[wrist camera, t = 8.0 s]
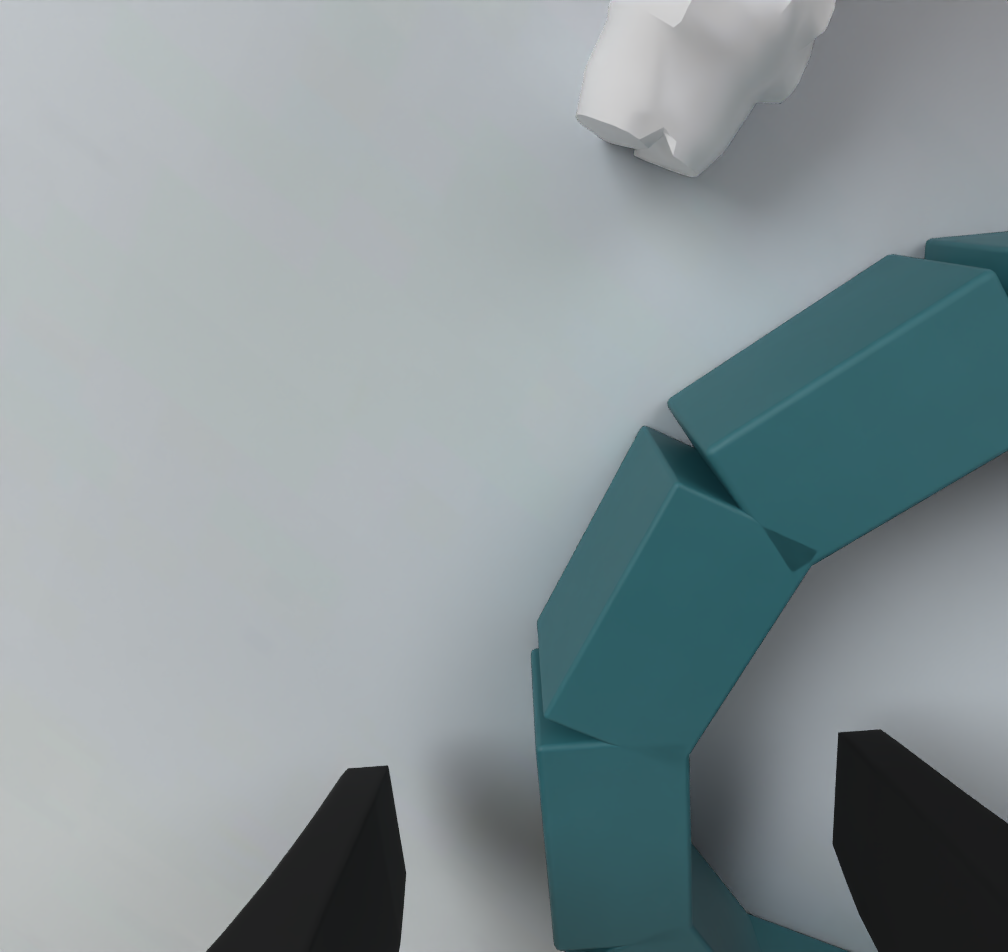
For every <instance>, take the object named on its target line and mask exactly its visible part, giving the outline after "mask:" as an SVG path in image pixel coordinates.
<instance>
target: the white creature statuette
mask: <svg viewBox="0 0 1008 952" xmlns="http://www.w3.org/2000/svg"><path fill="white" fill-rule="evenodd" d="M835 2H836V0H611V1H610V4H609V6H608V15H607V21H606V23H605V25H604V27H603V30H602V32H601V34H600V36H599V38H598V41H597V43H596V45H595V47H594V49H593V52H592V54H591V56H590V58H589V61H588V63H587V65H586V67H585V70H584V77H583V83H582V88H581V93H580V98H579V103H578V108H577V113H576V118H577V120H578V122H579V123H581V124H582V125H583V126H584V127H586V128H587V129H589V130H590V131H592V132H593V133H594V134H596V135H597V136H598V137H599V138H601V139H602V140H605V141H607V142H609V143H611V144H615V145H620V146H624V147H629V148H634V156H636V157H638V158H640V159H642V160H645V161H647V162H650V163H652V164H655V165H657V166H660V167H662V168H665V169H668V170H670V171H673V172H676V173H679V174H682V175H685V176H689V177H696V176H698V175H700V174H701V173H702V172H703V171H704V170H705V169H706V168H707V167H708V166H710V165H711V164H712V163H713V162H714V161H715V160H716V159H717V158H718V157H720V156H721V155H722V154H723V153H724V152H725V150H726V149H727V147H728V146H729V144H730V143H731V141H732V140H733V138H734V137H735V135H736V133H737V132H738V130H739V129H740V127H741V126H742V124H743V123H744V121H745V120H746V118H747V117H748V115H749V114H750V112H751V111H752V109H753V108H754V106H755V105H756V103H775V104H781V103H782V102H783V101H784V100H785V99H787V98H788V97H789V96H790V95H791V94H792V93H793V91H794V90H795V88H796V87H797V85H798V83H799V82H800V79H801V77H802V75H803V73H804V70H805V68H806V66H807V64H808V61H809V59H810V57H811V52H812V48H813V43H814V39H816V38H817V37H818V36H819V35H821V34H822V33H823V32H824V31H825V30H826V28H827V26H828V24H829V21H830V19H831V17H832V14H833V12H834V10H835Z"/></svg>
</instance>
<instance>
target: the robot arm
mask: <svg viewBox="0 0 1008 952" xmlns="http://www.w3.org/2000/svg"><path fill="white" fill-rule="evenodd" d="M833 847H834V849H835V852H836V855H837V857H838V860H839V863H840V866H841V868H842V871H843V874H844V877H845V879H846V882H847V885H848V887H849V890H850V892H851V895H852V897H853V900H854V902H855V905H856V907H857V910H858V912H859V915H860V917H861V919H862V921H863V923H864V925H865V927H866V929H867V931H868V933H869V935H870V937H871V938H872V940H873V942H874V944H875V946H876V948H877V950H878V952H1008V823H1006V822H1005V821H1004V820H1002V819H1001V818H999V817H998V816H997V815H995V814H994V813H992V812H991V811H990V810H988V809H987V808H986V807H984V806H983V805H981V804H980V803H979V802H977V801H976V800H975V799H973V798H972V797H970V796H969V795H968V794H966V793H965V792H964V791H962V790H961V789H960V788H958V787H957V786H956V785H954V784H953V783H952V782H950V781H949V780H948V779H946V778H945V777H944V776H942V775H941V774H940V773H938V772H937V771H936V770H934V769H933V768H932V767H930V766H929V765H928V764H926V763H925V762H924V761H922V760H921V759H920V758H919V757H917V756H916V755H915V754H913V753H912V752H911V751H909V750H908V749H907V748H905V747H904V746H903V745H901V744H900V743H899V742H897V741H896V740H895V739H893V738H892V737H890V736H889V735H888V734H886V733H885V732H883V731H882V730H881V729H880V730H867V731H853V732H839V733H838V748H837V768H836V787H835V806H834V826H833ZM405 882H406V870H405V864H404V858H403V852H402V846H401V840H400V834H399V828H398V822H397V816H396V810H395V804H394V798H393V792H392V786H391V780H390V774H389V768H388V766H375V767H362V768H348V769H347V770H346V771H345V772H344V773H343V775H342V776H341V777H340V779H339V780H338V782H337V783H336V784H335V786H334V787H333V789H332V790H331V792H330V793H329V795H328V796H327V798H326V799H325V801H324V802H323V804H322V805H321V806H320V808H319V809H318V811H317V812H316V814H315V815H314V817H313V818H312V819H311V821H310V822H309V824H308V825H307V826H306V828H305V829H304V831H303V832H302V833H301V835H300V836H299V838H298V839H297V840H296V842H295V843H294V844H293V846H292V847H291V848H290V850H289V851H288V852H287V854H286V855H285V856H284V858H283V859H282V860H281V862H280V863H279V864H278V866H277V867H276V868H275V870H274V871H273V872H272V874H271V875H270V876H269V878H268V879H267V880H266V881H265V883H264V884H263V885H262V886H261V888H260V889H259V890H258V891H257V892H256V894H255V895H254V896H253V897H252V898H251V900H250V901H249V902H248V903H247V905H246V906H245V907H244V908H243V909H242V911H241V912H240V913H239V914H238V915H237V917H236V918H235V919H234V920H233V921H232V923H231V924H230V925H229V926H228V927H227V929H226V930H225V931H224V932H223V933H222V934H221V936H220V937H219V938H218V939H217V940H216V941H215V942H214V943H213V944H212V946H211V947H210V948H209V949H208V950H207V951H206V952H399V948H400V942H401V931H402V920H403V908H404V895H405Z"/></svg>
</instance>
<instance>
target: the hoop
mask: <svg viewBox="0 0 1008 952" xmlns="http://www.w3.org/2000/svg"><path fill="white" fill-rule="evenodd" d="M667 403H668V408H669V409H670V411H671V412H672V414H673V415H674V417H675V418H676V420H677V421H678V423H679V424H680V426H681V427H682V429H683V430H684V432H685V434H686V435H687V437H688V438H689V440H690V441H691V443H692V444H693V446H694V447H695V448H693V447H691V446H689V445H687V444H684V443H682V442H680V441H678V440H676V439H673V438H671V437H669V436H667V435H665V434H663V433H660V432H658V431H656V430H654V429H652V428H649V427H647V426H643V427H642V428H641V429H640V431H639V432H638V434H637V436H636V438H635V440H634V442H633V444H632V445H631V447H630V449H629V451H628V453H627V455H626V457H625V458H624V460H623V462H622V464H621V466H620V468H619V470H618V472H617V473H616V475H615V477H614V479H613V481H612V483H611V485H610V486H609V488H608V490H607V492H606V494H605V496H604V498H603V499H602V501H601V503H600V505H599V507H598V509H597V511H596V513H595V514H594V516H593V518H592V520H591V522H590V524H589V526H588V527H587V529H586V531H585V533H584V535H583V537H582V539H581V540H580V542H579V544H578V546H577V548H576V550H575V552H574V554H573V555H572V557H571V559H570V561H569V563H568V565H567V567H566V568H565V570H564V572H563V574H562V576H561V578H560V580H559V581H558V583H557V585H556V587H555V589H554V591H553V593H552V594H551V596H550V598H549V600H548V602H547V604H546V606H545V608H544V609H543V611H542V613H541V615H540V617H539V619H538V621H537V629H538V643H539V648H536V649H534V650H532V653H531V668H532V687H533V707H534V726H535V745H536V758H537V768H538V779H539V790H540V800H541V811H542V822H543V832H544V843H545V854H546V864H547V875H548V885H549V896H550V907H551V917H552V928H553V939H554V945H555V947H556V949H557V950H560V951H565V952H849V951H846V950H843V949H841V948H838V947H835V946H833V945H830V944H827V943H825V942H822V941H819V940H817V939H814V938H811V937H809V936H806V935H803V934H801V933H798V932H795V931H793V930H790V929H787V928H785V927H782V926H779V925H777V924H774V923H771V922H769V921H766V920H763V919H761V918H758V917H755V916H753V915H750V914H747V913H746V911H745V910H744V909H743V908H742V906H741V905H740V904H739V903H738V901H737V900H736V899H735V897H734V896H733V895H732V894H731V892H730V891H729V890H728V889H727V887H726V886H725V885H724V884H723V882H722V881H721V880H720V878H719V877H718V876H717V875H716V873H715V872H714V871H713V870H712V868H711V867H710V866H709V865H708V863H707V862H706V861H705V859H704V858H703V857H702V856H701V854H700V853H699V852H698V851H697V849H696V848H695V847H694V846H693V844H692V843H691V810H690V759H689V754H690V753H691V751H692V750H693V748H694V747H695V745H696V744H697V742H698V741H699V739H700V737H701V736H702V734H703V733H704V731H705V730H706V728H707V727H708V725H709V724H710V722H711V720H712V719H713V717H714V716H715V714H716V713H717V711H718V710H719V708H720V706H721V705H722V703H723V702H724V700H725V699H726V697H727V696H728V694H729V693H730V691H731V689H732V688H733V686H734V685H735V683H736V682H737V680H738V679H739V677H740V676H741V674H742V672H743V671H744V669H745V668H746V666H747V665H748V663H749V662H750V660H751V659H752V657H753V655H754V654H755V652H756V651H757V649H758V648H759V646H760V645H761V643H762V641H763V640H764V638H765V637H766V635H767V634H768V632H769V631H770V629H771V628H772V626H773V624H774V623H775V621H776V620H777V618H778V617H779V615H780V614H781V612H782V611H783V609H784V607H785V606H786V604H787V603H788V601H789V600H790V598H791V597H792V595H793V594H794V592H795V590H796V589H797V587H798V586H799V584H800V583H801V581H802V580H803V578H804V576H805V575H806V573H807V572H808V570H809V569H810V567H811V566H812V565H814V564H816V563H817V562H819V561H821V560H822V559H824V558H826V557H828V556H829V555H831V554H833V553H834V552H836V551H838V550H839V549H841V548H843V547H845V546H846V545H848V544H850V543H851V542H853V541H855V540H856V539H858V538H860V537H862V536H863V535H865V534H867V533H868V532H870V531H872V530H873V529H875V528H877V527H879V526H880V525H882V524H884V523H885V522H887V521H889V520H891V519H892V518H894V517H896V516H897V515H899V514H901V513H902V512H904V511H906V510H908V509H909V508H911V507H913V506H914V505H916V504H918V503H919V502H921V501H923V500H925V499H926V498H928V497H930V496H931V495H933V494H935V493H936V492H938V491H940V490H942V489H943V488H945V487H947V486H948V485H950V484H952V483H954V482H955V481H957V480H959V479H960V478H962V477H964V476H965V475H967V474H969V473H971V472H972V471H974V470H976V469H977V468H979V467H981V466H982V465H984V464H986V463H988V462H989V461H991V460H993V459H994V458H996V457H998V456H999V455H1001V454H1003V453H1005V452H1006V451H1008V231H1007V232H996V233H985V234H975V235H964V236H953V237H942V238H932V239H930V240H928V241H927V242H926V245H925V258H924V259H920V258H914V257H907V256H901V255H894V254H892V255H887V256H886V257H884V258H883V259H881V260H880V261H878V262H877V263H875V264H874V265H872V266H870V267H869V268H867V269H866V270H864V271H863V272H861V273H860V274H858V275H857V276H855V277H854V278H852V279H851V280H849V281H848V282H846V283H845V284H843V285H842V286H840V287H839V288H837V289H835V290H834V291H832V292H831V293H829V294H828V295H826V296H825V297H823V298H822V299H820V300H819V301H817V302H816V303H814V304H813V305H811V306H810V307H808V308H807V309H805V310H803V311H802V312H800V313H799V314H797V315H796V316H794V317H793V318H791V319H790V320H788V321H787V322H785V323H784V324H782V325H781V326H779V327H778V328H776V329H775V330H773V331H772V332H770V333H768V334H767V335H765V336H764V337H762V338H761V339H759V340H758V341H756V342H755V343H753V344H752V345H750V346H749V347H747V348H746V349H744V350H743V351H741V352H740V353H738V354H736V355H735V356H733V357H732V358H730V359H729V360H727V361H726V362H724V363H723V364H721V365H720V366H718V367H717V368H715V369H714V370H712V371H711V372H709V373H708V374H706V375H704V376H703V377H701V378H700V379H698V380H697V381H695V382H694V383H692V384H691V385H689V386H688V387H686V388H685V389H683V390H682V391H680V392H679V393H677V394H676V395H674V396H673V397H671V398H670V399H669V401H668V402H667Z"/></svg>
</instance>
